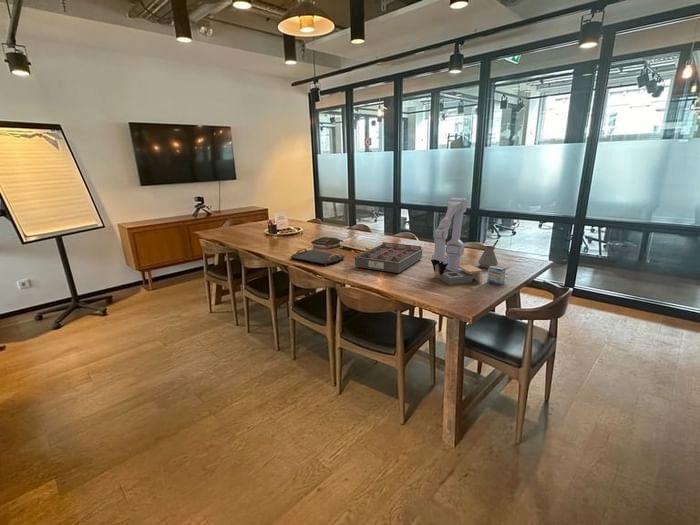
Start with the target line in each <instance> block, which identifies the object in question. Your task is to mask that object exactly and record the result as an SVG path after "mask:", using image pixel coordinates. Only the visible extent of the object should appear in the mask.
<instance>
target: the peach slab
mask: <svg viewBox="0 0 700 525" xmlns="http://www.w3.org/2000/svg"><path fill="white" fill-rule="evenodd" d="M458 268H460V269H462V270H463V271H465V272H467V273H469V274H471V275H473V280H475V281H476V282H479V283H482V281H483V270H482V269H480V268H479V267H476V266H474V265H472V264H463V265H461V264H460V266H458ZM462 270H461V271H462Z"/></svg>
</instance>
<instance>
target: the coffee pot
mask: <svg viewBox="0 0 700 525" xmlns="http://www.w3.org/2000/svg"><path fill="white" fill-rule="evenodd" d="M499 241H500V239H496V241H495V242H494V244H493V245H484V246H483V248H484V250H483V252H482V254H481V256H480V258H479V260H478V264H479V265H480V266H481V267H482V268H483V269H489V267H490V266H496V267H497V266H498V260H497V256H496V253H495V251H494V250H495V249H496V245H497V244H498V243H499Z"/></svg>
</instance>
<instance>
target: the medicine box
mask: <svg viewBox="0 0 700 525" xmlns="http://www.w3.org/2000/svg"><path fill="white" fill-rule="evenodd" d="M487 269H488V270H487V271H488V272H487V283H490V284H496V285H499V286H500V285H501V286H502V285H503V284H504V283H505V278H506V271H507V269H506V268H505V267H501V266H497V265H496V266H490V267H489V268H487Z"/></svg>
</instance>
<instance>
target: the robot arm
mask: <svg viewBox="0 0 700 525" xmlns="http://www.w3.org/2000/svg"><path fill="white" fill-rule="evenodd" d="M467 201H468V200H467V199H466V198H465V197H449V198H448V199H447V209H446V210H447V211H446V213H445V215H444V217H443V218H442V219H441V220H440V222H439V225H438V226H437V228H436V229H434V231H433V234H432V235H433V236H432V237H433V242H434V254H431V260H430V262H431V264H432V268H433V272H434V273H435V265H436V264H438V266H439V274H440V275H442V273H444V272H446V271H445V270H448V271H449V272H453V271H462V269H460V268H458V266H461V256H463V255H464V252H465V244H464V242H463V241H462V240H461V234H462V225H463V217H464V213H466V211H467V205H468V202H467ZM452 218H453V225H452V221H451V220H452ZM451 225H452V231H451V232H452V233H451V239H450V240H449V241H447V242H446V240H447V239H448V235H449V229H450V226H451ZM446 254H447V255H446Z"/></svg>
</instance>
